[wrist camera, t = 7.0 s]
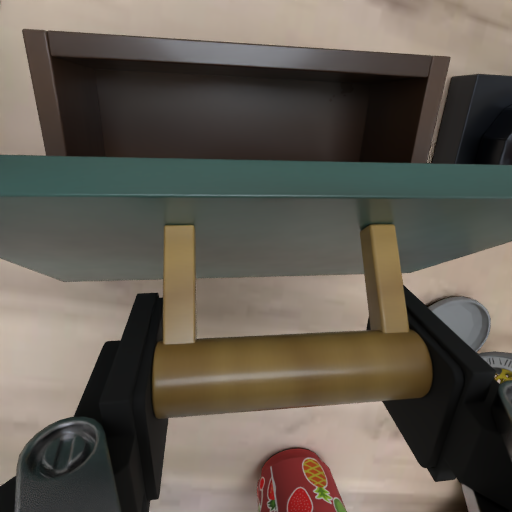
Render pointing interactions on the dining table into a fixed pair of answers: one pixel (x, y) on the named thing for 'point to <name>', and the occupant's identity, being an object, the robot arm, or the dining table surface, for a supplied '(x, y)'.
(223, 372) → the green panel
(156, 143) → the open brown box case
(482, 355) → the pocket watch
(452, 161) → the base
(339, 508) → the smoothie
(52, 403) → the dining table surface
